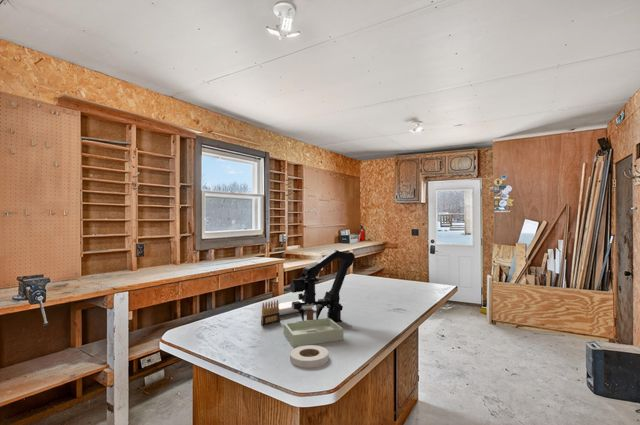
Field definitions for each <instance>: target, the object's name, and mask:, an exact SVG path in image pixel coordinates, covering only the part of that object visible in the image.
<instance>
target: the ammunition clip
mask: <svg viewBox="0 0 640 425" xmlns="http://www.w3.org/2000/svg"><path fill="white" fill-rule="evenodd" d="M278 304H279V300H278V299H276V300H271V302H270V301H268V302H267V301H265V303H264V302H262V306H261V307H262V308H261V318H260V319H261V322H260V325H261V326H263V327H264V326H269V325H273V324H276V323H277V324H278V323H279V322H280V321H281V320H280V316H281V315H279V305H278ZM270 305H271V308H270ZM273 305H274V306H273ZM267 306H268V308H267Z"/></svg>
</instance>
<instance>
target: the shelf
mask: <svg viewBox="0 0 640 425" xmlns="http://www.w3.org/2000/svg"><path fill="white" fill-rule="evenodd" d="M295 301H299V302H301V303H304V302H302V300H299V299H298V300H292V301H286V302H281V303H278V305H279V315H280V316H284V315H290V314H294V313H298V312H299V311H298V310H297V309H293V308H292V302H295ZM312 304H313V303H312ZM273 306H274V304H273ZM314 307H315V305H312V306H302V308H303V309H304V311H307V309H313V308H314ZM267 308H268V305H267ZM270 308H271V304H270ZM299 313H300V312H299Z"/></svg>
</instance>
